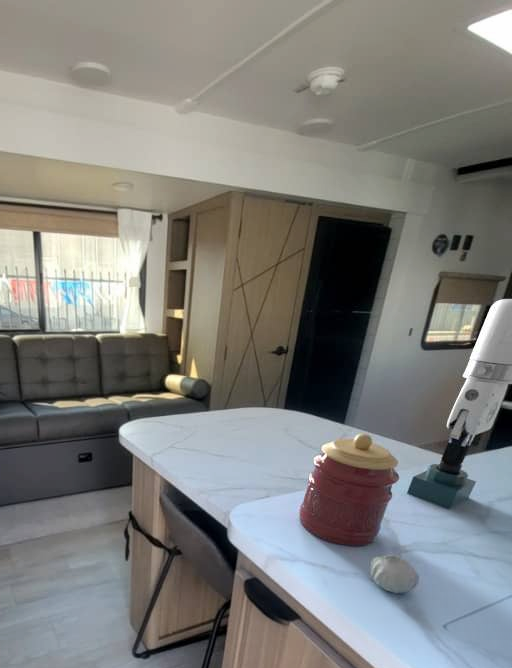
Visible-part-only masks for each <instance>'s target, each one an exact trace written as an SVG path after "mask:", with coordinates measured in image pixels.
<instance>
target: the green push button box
mask: <svg viewBox="0 0 512 668" xmlns="http://www.w3.org/2000/svg"><path fill="white" fill-rule="evenodd" d="M439 464H440V463H432V464H430V465H429V466H428V467H427V470H425V471H424V472H421V473H419V474H416V475H413V476H412V479H411V481H410V484H409V486H408V488H407V491H406V493H407V494H408V495H411V496H413V497H416V498H419V499H421V500H423V501H426V502H429V503H431V504H434V505H436V506H438V507H442V508H444V509H447V510H451V509H452V508H454V507H456V506H458V505H459V504H461V503H463V502H464V501H465V500H466V501H467V499H469V498H470V496H471V493H472V492H473V490H474V487H475V485H476V483H477V481H476V480H474V479H470V478H468V477H469V474H468V473H467V471H464V470H463V469H461V470H460V472H459V474H458V475H454V474H448V473H445V472H441V471H440V470H438V467H439Z"/></svg>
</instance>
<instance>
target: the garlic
mask: <svg viewBox="0 0 512 668" xmlns="http://www.w3.org/2000/svg"><path fill="white" fill-rule="evenodd" d="M369 570H370V571H369V572H370V575H371V578H372V580H373V581H374V583H375V584H376V585H377V586H378V587H380V588H381V589H383V590H384V591H386V592H390V593H394V594H405V593H408V592H409V591H412V590H413V589H415V588H416V587H417V586H418V584H419V580H420V575H419V574H418V572H417V571H416V569H415V567H414V566H413V565H412V564H411V563H410V562H408V561H407V560H406V559H404V558H401V557H399V556H398V555H395V554H390V555H389V554H386V555H383V556H376V557H374V558H373V559H372V560H371V561H370V567H369Z"/></svg>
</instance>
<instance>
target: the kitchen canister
mask: <svg viewBox="0 0 512 668" xmlns="http://www.w3.org/2000/svg"><path fill="white" fill-rule="evenodd" d="M321 451H322V453H321V452H320V453H319V454H317V455H314V457H313V459H312V463H313V465H314V468H313V471H312V472H310V473H309V475H308V482H307V486H306V490H305V493H304V497H303V501H302V503H301V505H300V508H299V521H300V524H301V525H302V526H303V527H304V528H305V529H306V530H307V531H308V532H309V533H311V534H313V535H314V536H317V537H318V538H320V539H323V540H325V541H327V542H331V543H334V544H339V545H343V546H352V547H357V546H366V545H368V544H371V543H372V542H374V541H375V538H376V537H377V536H378V535H379V533H380V530H381V526H382V525H381V524H382V522H383V519H384V516H385V513H386V511H387V508H388V505H389V503H390V501H391V500H392V498H393V492H392V489H393V488H392V487H393V485H394V484H396V483H397V482H399V480H400V475H399V473H398V472H397V470H396V469H395V468H396V467H397V466H398V465H399V461H398V459H397V458H396V457H395V456H394V455H392V453H391V451H389V450H388V448H385V447H383V446H381V445H380V444H376V443H373V439H372V436H371V435H369V434H368V433H359V434H357V435H356V436H354V438H352V439H351V438H338V439H336V440H333V441H331V442H328V443H325V444H323V445H322V446H321Z"/></svg>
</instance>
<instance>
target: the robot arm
mask: <svg viewBox="0 0 512 668" xmlns="http://www.w3.org/2000/svg"><path fill="white" fill-rule="evenodd" d="M477 337H478V338H477V340H476V342H475V345H474V347H473V349H472V352H471V354H470V357H469V360H468V362H467V364H466V366H465V370H464V372H463V374H462V377H463V378H465V379H466V380H465V381H464V384H463V385H462V387H461V390H460V392H459V394H458V396H457V398H456V400H455V402H454V405H453V407H452V409H451V411H450V414H449V417H448V418H447V422H446V428H447V429H448V430H451V432H450V433H449V439H448V442H447V444H446V447H445V449H444V451H443V454H442V456H441V459H440V461H441V460H442V461H445V462H448V463H451V464H454V465H460V464H461V465H463V462H464V460H465V458H466V456H467V454H468V451H469V449H470V447H471V444H472V442H473V440H474V438H475V436H476V435H479V434H481V433H484V432H487V431H489V430H491V428H492V427H493V425H494V423H495V420H496V418H497V415H498V413H499V410H500V408H501V406H502V403H503V401H504V398H505V395H506V392H507V390H508V386H509V385H512V298H503V299H499V300H497V301H495V302H493V304H492V305H491V306H490V308H489V311H488V312H487V316H486V318H485V319H484V322H483V325H482V327H481V330H480V331H479V335H478V336H477Z"/></svg>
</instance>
